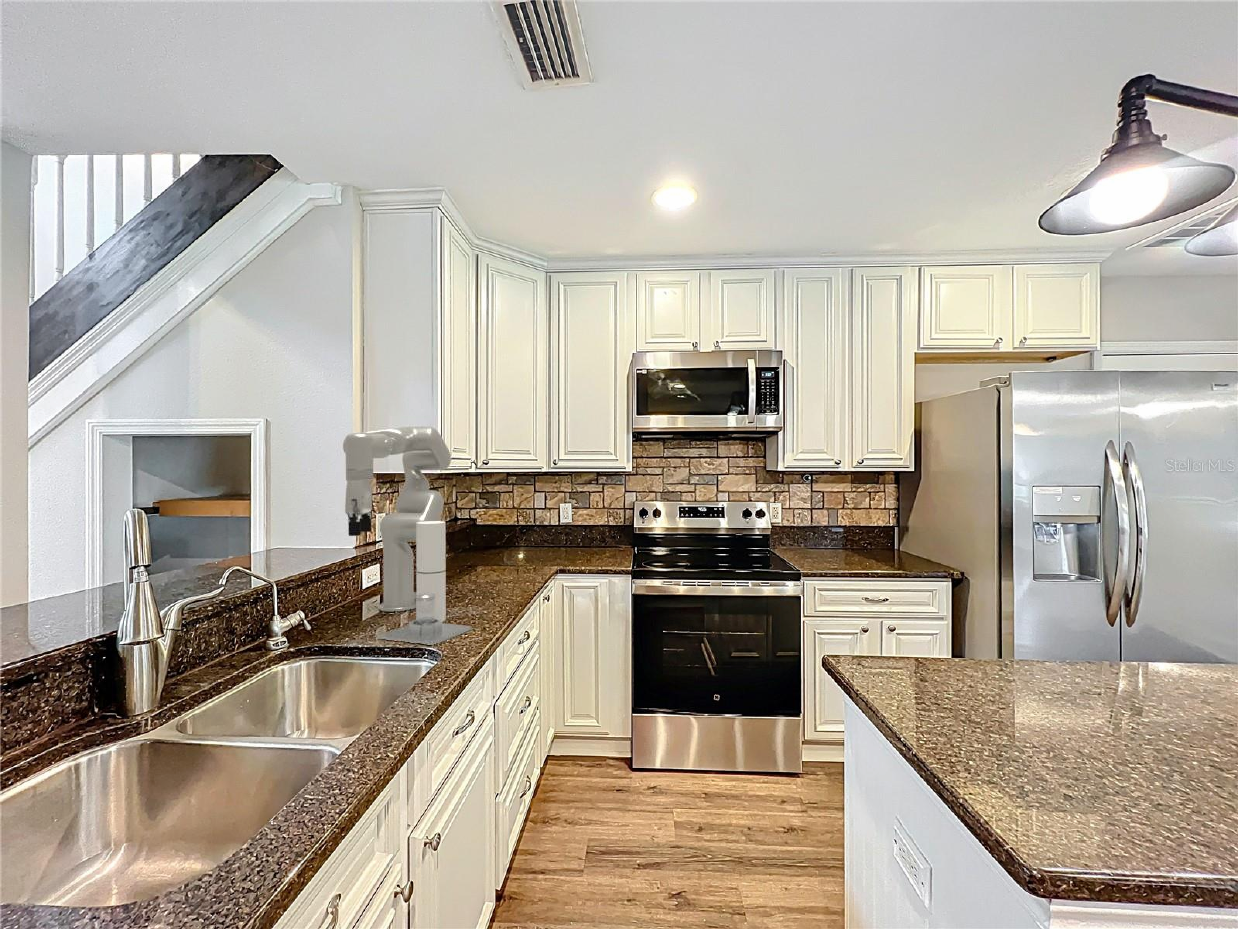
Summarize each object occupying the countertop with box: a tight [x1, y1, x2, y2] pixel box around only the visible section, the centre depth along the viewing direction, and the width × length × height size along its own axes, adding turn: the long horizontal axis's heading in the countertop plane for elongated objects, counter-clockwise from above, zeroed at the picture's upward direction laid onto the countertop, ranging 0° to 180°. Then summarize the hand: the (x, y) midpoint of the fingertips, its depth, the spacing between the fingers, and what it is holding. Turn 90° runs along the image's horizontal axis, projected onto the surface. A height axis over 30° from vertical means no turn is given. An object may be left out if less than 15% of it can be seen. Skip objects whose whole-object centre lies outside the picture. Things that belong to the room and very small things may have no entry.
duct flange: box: [376, 619, 472, 646], centre depth 180 cm, size 18×18×4 cm
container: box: [415, 520, 447, 623], centre depth 197 cm, size 9×9×30 cm
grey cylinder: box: [415, 593, 435, 625], centre depth 180 cm, size 5×5×10 cm
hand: (360, 533), depth 189 cm, fingers open, 9 cm apart
